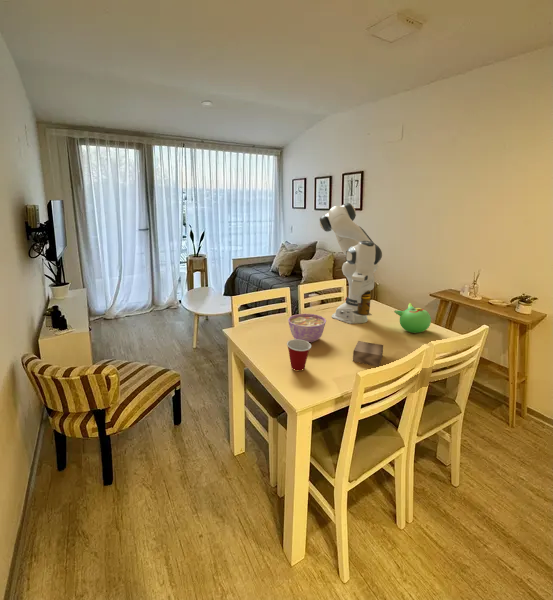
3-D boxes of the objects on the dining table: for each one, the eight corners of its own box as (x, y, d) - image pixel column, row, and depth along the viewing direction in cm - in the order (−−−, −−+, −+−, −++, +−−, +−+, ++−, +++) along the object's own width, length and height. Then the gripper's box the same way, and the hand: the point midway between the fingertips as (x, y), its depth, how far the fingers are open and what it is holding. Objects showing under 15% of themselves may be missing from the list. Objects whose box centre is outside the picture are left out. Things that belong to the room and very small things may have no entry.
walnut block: (352, 362, 156) (353, 350, 154) (357, 351, 167) (358, 340, 165) (379, 367, 151) (380, 355, 150) (382, 356, 162) (383, 345, 160)
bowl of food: (282, 344, 174) (283, 323, 171) (294, 330, 192) (294, 311, 189) (320, 350, 168) (321, 328, 164) (328, 335, 186) (329, 316, 182)
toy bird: (418, 339, 181) (422, 314, 176) (390, 330, 193) (393, 306, 189) (434, 331, 192) (438, 307, 187) (407, 323, 204) (410, 300, 200)
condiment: (372, 315, 169) (374, 292, 165) (356, 316, 167) (358, 293, 163) (365, 310, 175) (367, 288, 172) (350, 311, 174) (352, 289, 170)
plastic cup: (306, 376, 143) (307, 350, 139) (282, 371, 147) (283, 346, 143) (313, 365, 152) (314, 341, 149) (291, 361, 156) (291, 337, 153)
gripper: (366, 270, 175) (364, 295, 179) (349, 277, 160) (348, 304, 164) (378, 271, 172) (376, 297, 176) (362, 278, 156) (360, 307, 160)
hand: (362, 301), depth 170 cm, fingers closed on condiment, 6 cm apart
